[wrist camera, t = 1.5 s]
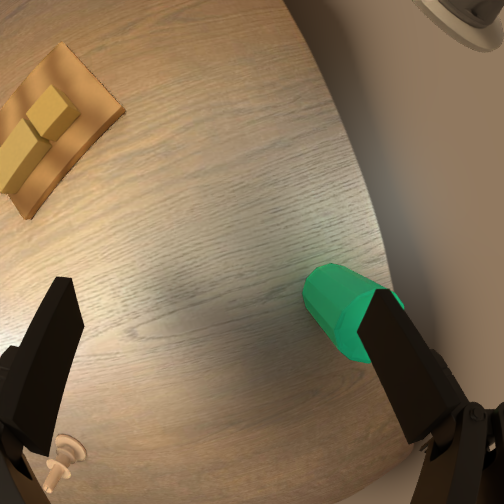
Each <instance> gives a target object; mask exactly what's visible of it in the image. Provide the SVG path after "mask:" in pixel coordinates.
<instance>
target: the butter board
mask: <svg viewBox="0 0 504 504" xmlns="http://www.w3.org/2000/svg"><path fill="white" fill-rule="evenodd" d="M50 85H53V86H55V87H56V88H58V89H59V90H61V91H62V92H64V93H65V95H66V96H67V97H68V98H69V99H70V101H71V102H72V103H73V104H74V106H75V107H76V108H77V109H78V111H79V112H80V113H81V114H80V115H79V116H78V117H77V118H76V120H75V121H74V122H73V123H72V124H71V125H70V126H69V127H68V128H67V129H66V131H65V132H64V133H63V134H62V135H61V136H60V137H59V139H58V140H57V141H56V142H55V141H52V140H49V139H48V140H49V142H50V143H51V144H52V147H51V148H50V149H49V151H48V152H47V153H46V154H45V155H44V157H43V158H42V159H41V161H40V162H39V163H38V164H37V166H36V167H35V168H34V170H33V171H32V172H31V174H30V175H29V176H28V178H27V179H26V180H25V182H24V183H23V185H22V186H21V188H20V189H19V190H18V192H17V193H16V194H8V195H9V197H10V198H11V200H12V202H13V203H14V205H15V206H16V208H17V210H18V211H19V213H20V214H21V216H22V217H23V219H24V220H26V219H32V217H33V216H34V215H35V213H36V212H37V210H38V209H39V208H40V206H41V205H42V204H43V202H44V201H45V200H46V198H47V197H48V196H49V194H50V193H51V192H52V191H53V189H54V188H55V187H56V186H57V184H58V183H59V182H60V181H61V179H62V178H63V177H64V176H65V175H66V173H67V172H68V171H69V170H70V169H71V168H72V166H73V165H74V164H75V163H76V162H77V161H78V160H79V158H80V157H81V156H82V155H83V154H84V153H85V152H86V151H87V150H88V149H89V147H90V146H91V145H92V144H93V143H94V142H95V141H96V140H97V139H98V138H99V137H100V136H101V135H102V134H103V133H104V132H105V131H106V130H107V129H108V128H109V127H110V126H111V125H112V124H113V123H114V122H115V121H116V120H117V119H118V118H119V117H120V116H121V115H122V114H123V113H124V112H125V111H126V110H125V109H124V108H123V107H122V106H121V105H120V104H119V103H118V102H117V100H116V99H115V98H114V97H113V96H112V95H111V94H110V93H109V92H108V91H107V90H106V88H105V87H104V86H103V85H102V84H101V83H100V82H99V81H98V80H97V79H96V78H95V76H94V75H93V74H92V73H91V72H90V71H89V70H88V69H87V68H86V67H85V66H84V64H83V63H82V62H81V61H80V60H79V59H78V58H77V57H76V56H75V55H74V54H73V52H72V51H71V50H70V49H69V48H68V47H67V46H66V45H65V44H64V43H63V42H62V41H61V42H60V43H59V44H58V45H57V46H56V47H55V48H54V49H53V50H52V51H51V52H50V53H49V54H48V55H47V56H46V57H45V58H44V59H43V60H42V61H41V62H40V63H39V64H38V65H37V67H36V68H35V69H34V70H33V71H32V72H31V73H30V74H29V75H28V77H27V78H26V79H25V80H24V81H23V82H22V84H21V85H20V86H19V87H18V88H17V90H16V91H15V92H14V93H13V94H12V96H11V97H10V98H9V100H8V101H7V102H6V103H5V105H4V106H3V107H2V109H1V110H0V147H1V146H2V145H3V143H4V142H5V140H6V139H7V138H8V136H9V135H10V133H11V132H12V131H13V129H14V128H15V127H16V125H17V124H18V123H19V121H20V120H21V119H22V118H24V119H26V120H29V118H28V117H27V115H26V113H27V111H28V110H29V109H30V108H31V107H32V105H33V104H34V103H35V102H36V101H37V100H38V98H39V97H40V96H41V95H42V94H43V93H44V92H45V90H46V89H47V88H48V87H49V86H50ZM29 121H30V120H29Z"/></svg>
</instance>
